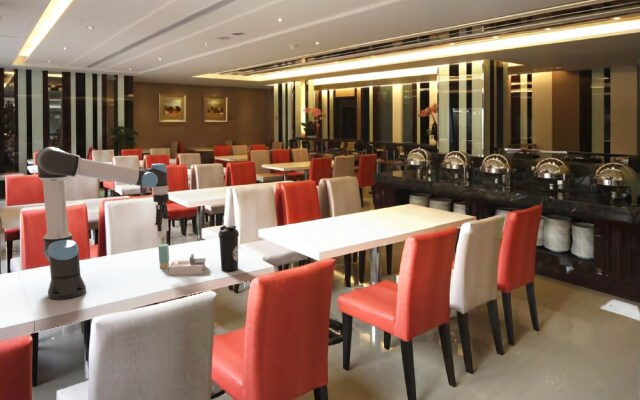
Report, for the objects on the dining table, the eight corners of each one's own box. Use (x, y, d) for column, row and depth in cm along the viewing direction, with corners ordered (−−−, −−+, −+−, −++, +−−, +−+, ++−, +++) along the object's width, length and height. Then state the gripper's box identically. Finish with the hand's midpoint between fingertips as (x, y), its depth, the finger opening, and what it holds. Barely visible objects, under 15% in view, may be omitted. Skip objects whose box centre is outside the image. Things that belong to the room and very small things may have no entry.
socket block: (169, 274, 245) (169, 266, 244) (174, 267, 256) (173, 259, 256) (202, 273, 246) (201, 265, 246) (205, 266, 258) (204, 259, 258)
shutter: (189, 264, 247) (189, 258, 247) (191, 260, 254) (191, 254, 254) (203, 263, 248) (203, 257, 248) (205, 259, 255) (205, 253, 255)
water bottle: (235, 273, 247) (234, 229, 243) (216, 271, 249) (215, 228, 245) (242, 267, 257) (241, 224, 253) (224, 266, 259) (222, 223, 255)
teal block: (159, 268, 254) (158, 246, 252) (161, 266, 258) (160, 244, 256) (168, 268, 255) (166, 246, 253) (169, 265, 259) (168, 244, 257)
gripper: (163, 197, 238) (165, 239, 242) (172, 189, 262) (175, 228, 266) (147, 198, 237) (150, 240, 241) (158, 190, 262) (161, 228, 265)
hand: (163, 234), depth 254 cm, fingers open, 13 cm apart
